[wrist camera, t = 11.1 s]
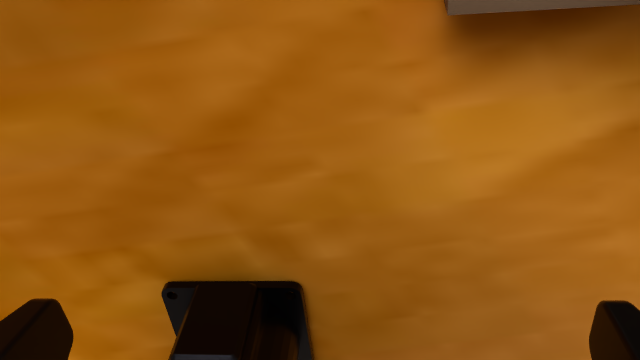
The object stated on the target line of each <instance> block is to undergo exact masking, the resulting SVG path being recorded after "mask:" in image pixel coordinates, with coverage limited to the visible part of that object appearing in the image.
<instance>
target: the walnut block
mask: <svg viewBox="0 0 640 360" xmlns="http://www.w3.org/2000/svg"><path fill="white" fill-rule="evenodd" d="M444 2H445V6H446V10H447V14H448V15H462V14H479V13H496V12H514V11H531V10H549V9H566V8H583V7H601V6H618V5H635V4H640V0H444Z"/></svg>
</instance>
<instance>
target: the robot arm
mask: <svg viewBox="0 0 640 360" xmlns="http://www.w3.org/2000/svg"><path fill="white" fill-rule="evenodd" d="M173 292H174V293H173ZM289 292H293V293H289ZM162 298H163V301H164V304H165V306H166V309H167V312H168V315H169V318H170V320H171V323H172V326H173V329H174V332H175V334H176V337H177V338H176V340H175V343H174V346H173V348H172V351H171V354H170V356H169V359H168V360H314V358H313V351H312V345H311V339H310V333H309V326H308V320H307V314H306V308H305V301H304V295H303V289H302V287H301V286H300V285H299V284H298V283H296V282H292V281H195V282H168V283H166V284H165V286H164V288H163V290H162ZM72 343H73V330H72V328H71V325H70V323H69V321H68V319H67V317H66V315H65V313H64V311H63V309H62V307H61V305H60V303H59V302H58V301H57V300H55V299H32V300H30V301H28V302H27V303H25V304H24V305H22V306H21V307H20V308H18V309H17V310H15V311H14V312H13V313H11V314H10V315H8V316H7V317H6V318H4V319H3V320H1V321H0V360H68V357H69V353H70V350H71V347H72ZM589 347H590V353H591V358H592V360H640V310H638V309H637V308H636V307H635V306H634V305H633V304H631V303H629V302H628V301H601V302H599V304H598V305H597V308H596V312H595V316H594V320H593V324H592V328H591V332H590V336H589Z"/></svg>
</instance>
